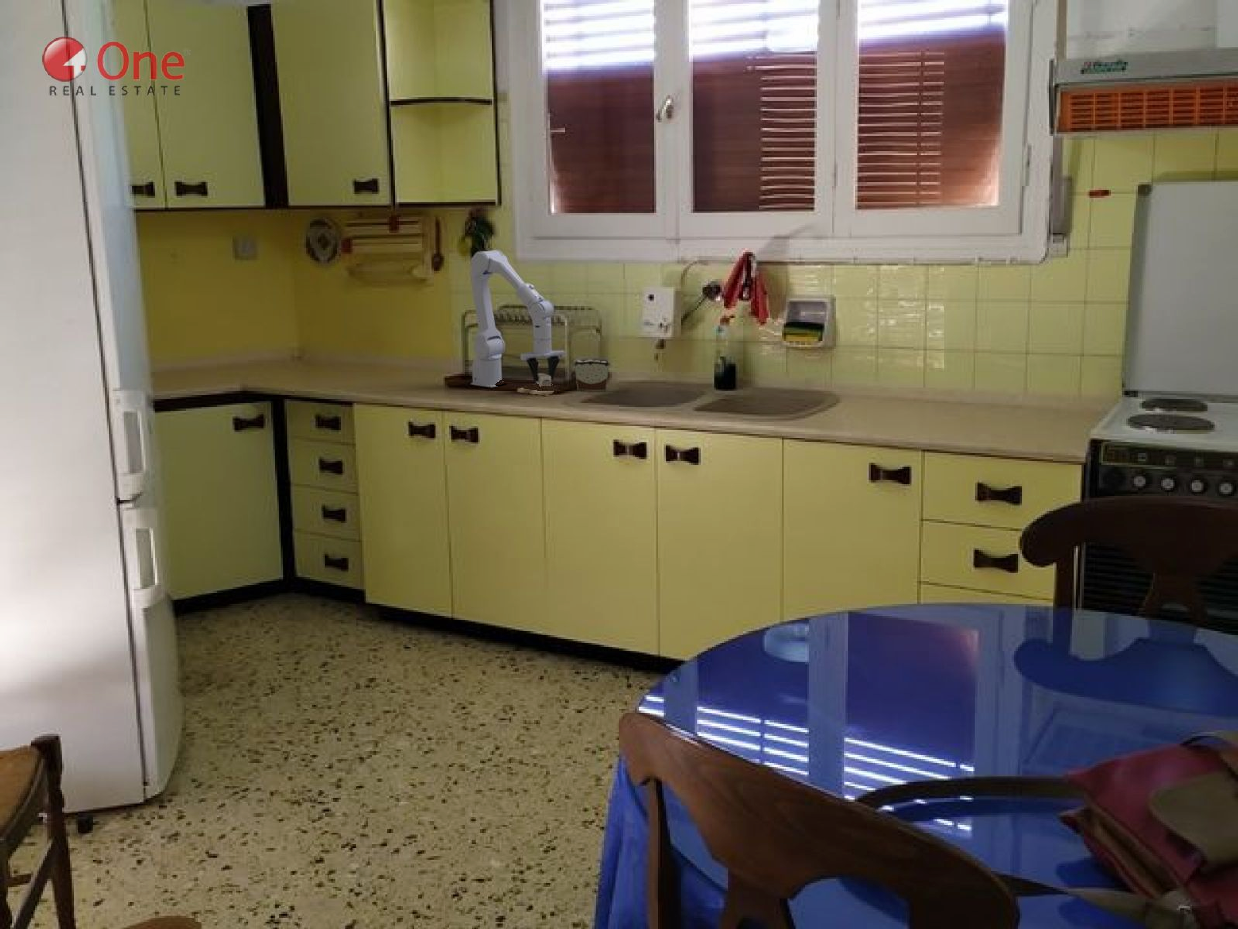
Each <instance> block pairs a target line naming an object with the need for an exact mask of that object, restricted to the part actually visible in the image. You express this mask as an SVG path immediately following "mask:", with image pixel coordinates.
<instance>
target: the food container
mask: <svg viewBox="0 0 1238 929" xmlns="http://www.w3.org/2000/svg"><path fill="white" fill-rule="evenodd" d="M572 367H574V369H575V370H574V372H575V378H576V386H577V387H576V388H577V391H578V390H585V392H586V391H591V392H599V391H600V392H607V389H608V388H607V387H608V379H609V378H608V377H609V367H610V368H611V362H610V360H609V359H608V358H605V357H599V356H598V357H595V356H593V357H592V356H587V357H586V356H585V357H580V358H579V357H578V358H575V359H574V360H573V363H572Z"/></svg>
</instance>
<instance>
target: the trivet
mask: <svg viewBox="0 0 1238 929" xmlns="http://www.w3.org/2000/svg"><path fill="white" fill-rule="evenodd" d="M553 392H554V391H537V390H530V389H524V388H523V387H520V388H517V393H523V394H528V393H529V394H530V395H535V394H538V395H537V396H542V395H545V396H544V397H547V396H546V395H549V394H552V393H553ZM549 396H550V395H549Z"/></svg>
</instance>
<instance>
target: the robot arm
mask: <svg viewBox="0 0 1238 929" xmlns="http://www.w3.org/2000/svg"><path fill="white" fill-rule="evenodd" d="M470 265H471V270H470V275H469V276H470V277H469V278H470V285H471V290H472V297H473V301H474V308H475V314H476V319H477V326H478V331H477V333H476V334H475V335H474V348H473V350H474V354H475V355H476V358H474V360H473V362H472V365H471V369H472V382H471V383H470V385H473V386H479V387H486V388H495V387H497V386H496V385H495V384H496V383H497V382H499V381H500V380H503V378H502V376H503V375H502V357H503V354H504V352H505V350H506V343H505V341H504V339H503V337H502V332H501V331H500V330H498V329H497V327H496V323H495V316H494V311H493V304H492V299H491V298H492V297H491V291H490V285H489V279H490V278H491V277H492V276H493V275H494V274H499V275H500V276H501V277H502V278H504V280H506V282H508V283H509V285H511V287H513V289H514V290H515V291H516V297H517V298H518V299H519V300H520V301H521V303H522V304H523V305H524V306H525V307H526V308H527V309H528V313H529V316H530V318H531V322H532V329H533V330H532V331H533V351H531V352H525V353H524V352H523V353H520V360H521V361H526V363H527V365H528V367H529V369H530V371H531V374H532V380H533V382H535V383H536V382H538V374H539V372H538V370H539V363H540V362H539V361H538V360H539V359H547V366H548V375H549V376H551V381H554V378H555V372H556V369H557V367H558V365H559V363H560V362H561V361H560V358H565V357H566V351H565V350H553V348H552V347H553V346H552V316H554V313H555V307H554V306H555V305H554V304H553V303H552V301H551V300H549V299H545V298H544V296H543V295H540V293H539V292H538V291H537V290H536V288H535V286H534V285H533V284H531V283H528V282H526V283H525V282H524V280H523V279H522V278H521V277H520V276H519V274H518V273H517V272H516V270H515V269H514V268H513V267H512V265H511V264H510V263H509V261H508V257H507V256H506V255H504V253H503V252H502V251H501V249H500V250H499V249H492V250H486V251H485V250H484V251H477V252H475V253H474V255H473V256H472V258H471V259H470Z"/></svg>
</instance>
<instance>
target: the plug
mask: <svg viewBox="0 0 1238 929" xmlns="http://www.w3.org/2000/svg"><path fill="white" fill-rule="evenodd" d="M536 383H537V384H539V386H540V387H541V386H551V384H552V380H551V376H549V374H547V373H538V382H535V384H536Z"/></svg>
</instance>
